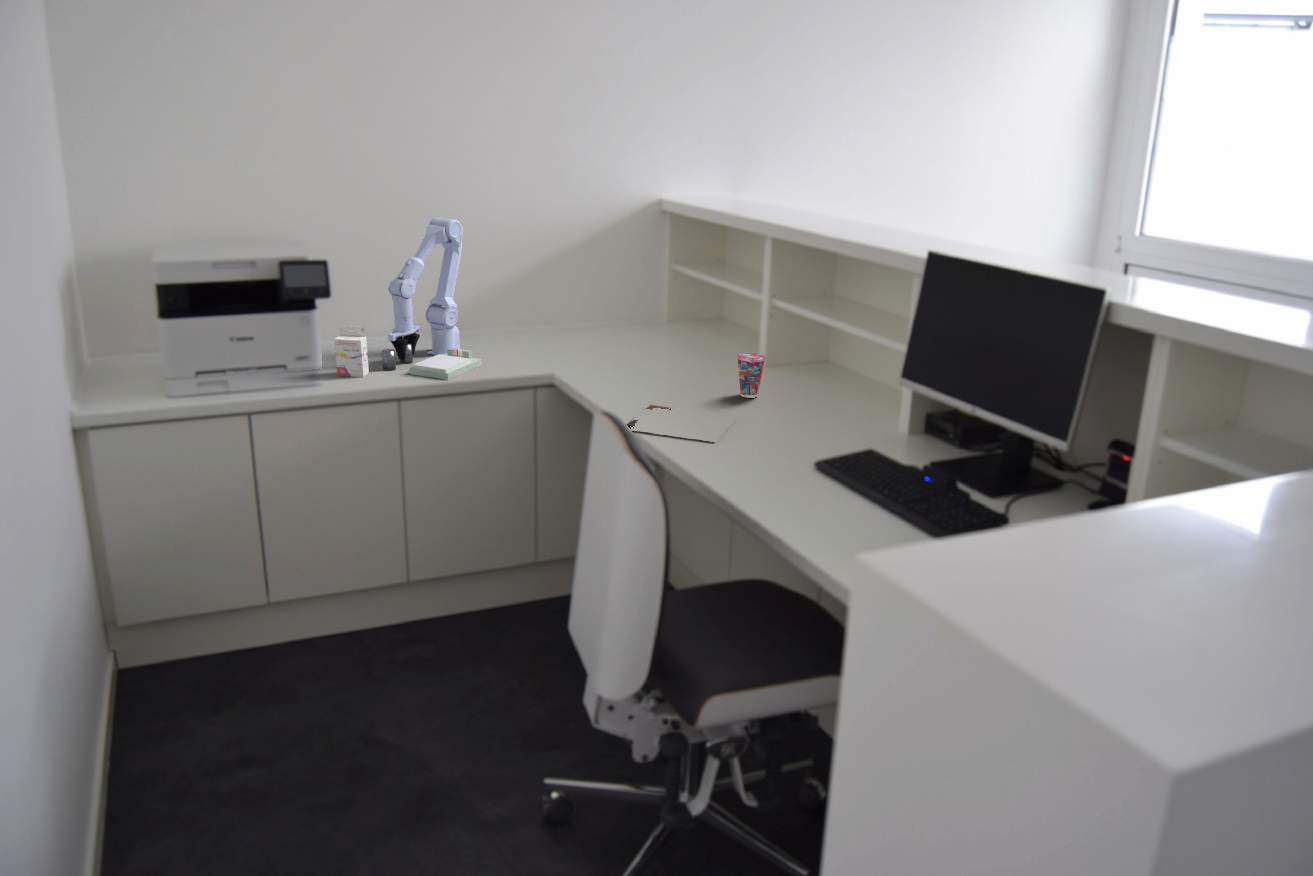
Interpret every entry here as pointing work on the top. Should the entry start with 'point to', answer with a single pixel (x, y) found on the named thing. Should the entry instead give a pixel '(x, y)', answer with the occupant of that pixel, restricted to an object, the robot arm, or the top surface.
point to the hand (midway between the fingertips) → (406, 357)
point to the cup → (750, 372)
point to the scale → (446, 364)
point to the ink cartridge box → (351, 352)
